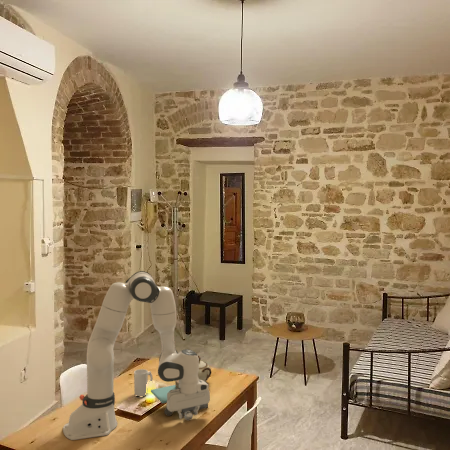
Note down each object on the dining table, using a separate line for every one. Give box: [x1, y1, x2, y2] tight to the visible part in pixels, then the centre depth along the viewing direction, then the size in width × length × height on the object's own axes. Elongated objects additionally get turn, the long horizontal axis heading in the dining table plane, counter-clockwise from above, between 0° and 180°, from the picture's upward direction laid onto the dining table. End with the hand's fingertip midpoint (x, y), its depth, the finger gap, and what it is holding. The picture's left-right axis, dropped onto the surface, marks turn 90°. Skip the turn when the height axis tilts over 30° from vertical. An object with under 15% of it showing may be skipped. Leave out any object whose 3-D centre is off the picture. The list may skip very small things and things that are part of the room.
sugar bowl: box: [198, 355, 212, 383], centre depth 257 cm, size 20×15×15 cm
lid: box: [150, 380, 179, 404], centre depth 225 cm, size 14×14×4 cm
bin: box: [181, 403, 209, 414], centre depth 231 cm, size 13×13×7 cm
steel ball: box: [183, 411, 194, 421], centre depth 216 cm, size 4×4×4 cm
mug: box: [133, 368, 154, 397], centre depth 242 cm, size 10×7×12 cm, turn 130°
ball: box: [164, 407, 174, 417], centre depth 220 cm, size 4×4×4 cm
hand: (188, 416), depth 216 cm, fingers open, 5 cm apart
